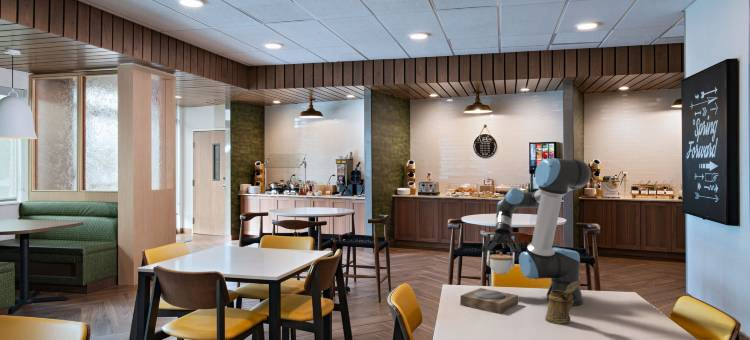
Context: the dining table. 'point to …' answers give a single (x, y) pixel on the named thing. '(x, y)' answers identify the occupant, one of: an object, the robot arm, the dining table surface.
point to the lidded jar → (500, 263)
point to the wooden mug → (561, 304)
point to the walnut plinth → (489, 300)
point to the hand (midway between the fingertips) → (500, 264)
